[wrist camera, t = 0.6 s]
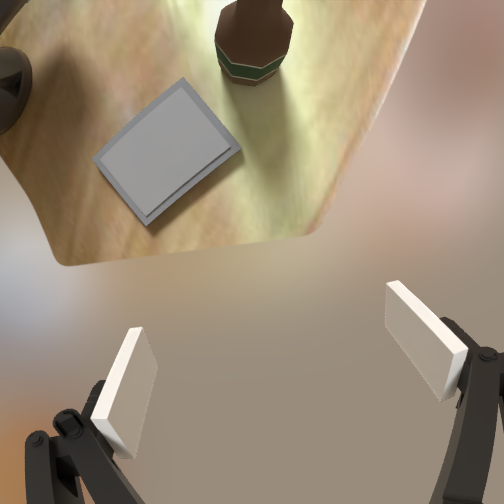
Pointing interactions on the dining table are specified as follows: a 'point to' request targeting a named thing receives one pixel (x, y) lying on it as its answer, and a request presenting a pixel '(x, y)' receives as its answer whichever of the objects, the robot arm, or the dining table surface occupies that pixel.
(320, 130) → the dining table surface
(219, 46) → the beer bottle
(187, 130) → the slate stand
